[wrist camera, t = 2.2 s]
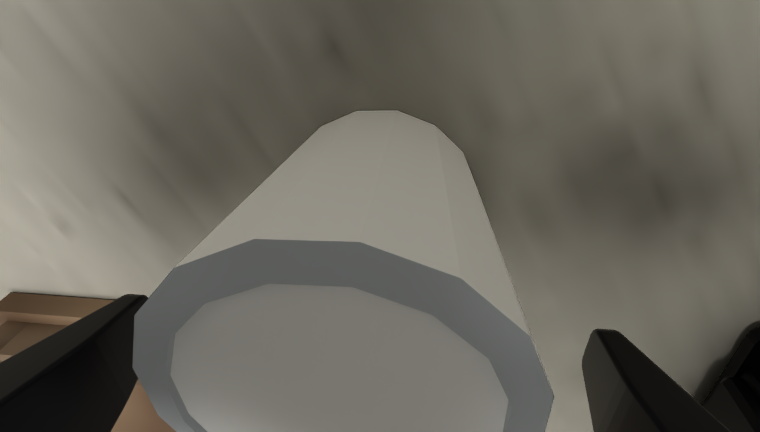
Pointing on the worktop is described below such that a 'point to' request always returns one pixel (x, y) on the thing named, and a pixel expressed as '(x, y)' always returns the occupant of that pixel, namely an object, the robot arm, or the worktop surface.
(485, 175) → the worktop surface
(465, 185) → the white cup
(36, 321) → the walnut holder
